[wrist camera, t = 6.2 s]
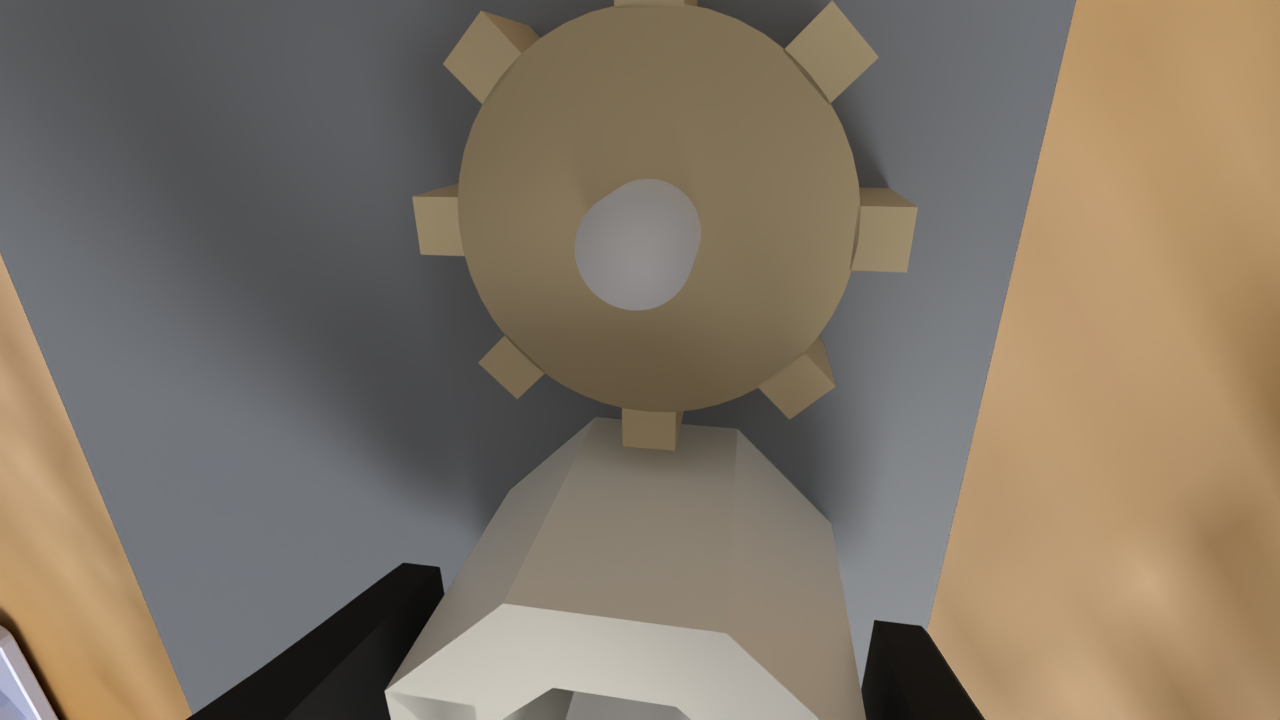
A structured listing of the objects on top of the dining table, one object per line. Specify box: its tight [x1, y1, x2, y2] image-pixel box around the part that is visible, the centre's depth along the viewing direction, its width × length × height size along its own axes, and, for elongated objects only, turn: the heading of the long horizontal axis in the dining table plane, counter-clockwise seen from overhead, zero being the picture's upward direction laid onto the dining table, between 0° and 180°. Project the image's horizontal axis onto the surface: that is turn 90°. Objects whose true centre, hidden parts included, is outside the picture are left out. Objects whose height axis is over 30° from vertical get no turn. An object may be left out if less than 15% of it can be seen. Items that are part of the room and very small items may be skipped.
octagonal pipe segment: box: [385, 417, 866, 720], centre depth 9 cm, size 5×5×4 cm
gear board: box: [0, 0, 1076, 720], centre depth 10 cm, size 16×18×6 cm
